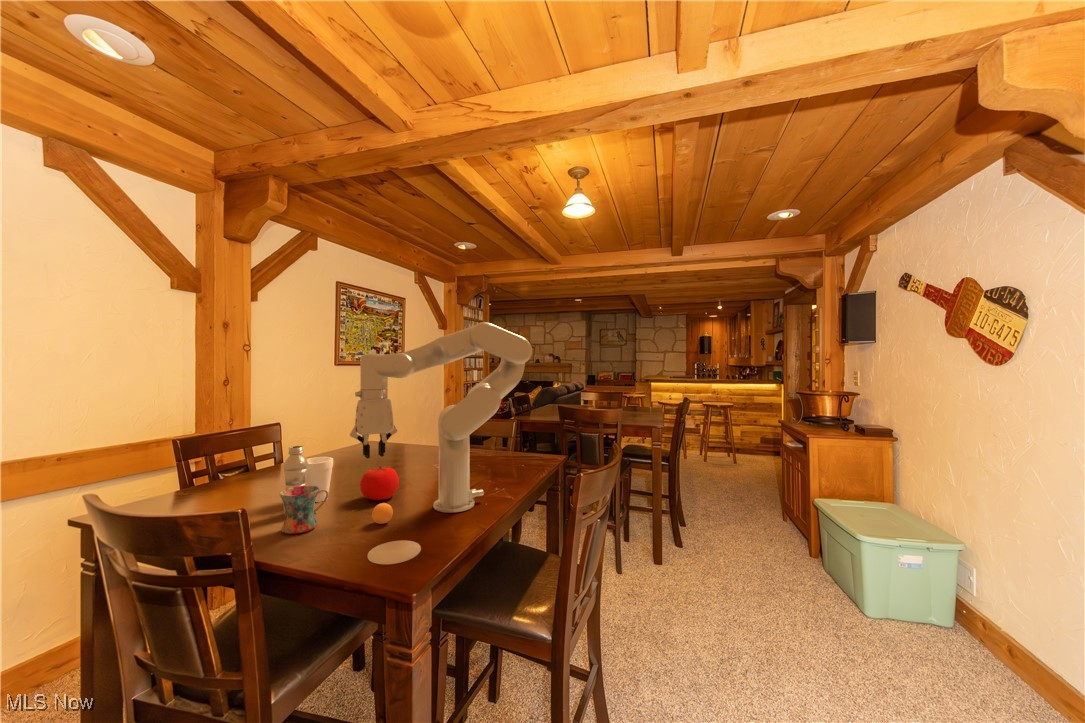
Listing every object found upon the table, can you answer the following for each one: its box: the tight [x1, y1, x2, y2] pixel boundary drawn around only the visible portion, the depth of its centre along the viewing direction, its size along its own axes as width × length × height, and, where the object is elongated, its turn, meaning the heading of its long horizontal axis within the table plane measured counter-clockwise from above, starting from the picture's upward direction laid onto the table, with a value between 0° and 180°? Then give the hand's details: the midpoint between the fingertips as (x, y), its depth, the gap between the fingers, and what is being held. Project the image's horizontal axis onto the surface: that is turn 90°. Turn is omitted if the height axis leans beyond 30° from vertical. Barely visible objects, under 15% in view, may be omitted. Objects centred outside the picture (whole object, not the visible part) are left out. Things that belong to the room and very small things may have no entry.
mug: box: [279, 485, 329, 535], centre depth 113 cm, size 12×9×11 cm
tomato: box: [359, 466, 400, 501], centre depth 137 cm, size 11×12×10 cm
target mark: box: [367, 539, 422, 566], centre depth 99 cm, size 12×12×1 cm
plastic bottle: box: [282, 445, 308, 514], centre depth 123 cm, size 6×7×20 cm
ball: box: [371, 502, 394, 525], centre depth 116 cm, size 6×6×6 cm
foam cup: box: [306, 456, 334, 503], centre depth 136 cm, size 10×9×13 cm
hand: (374, 455), depth 124 cm, fingers open, 3 cm apart
